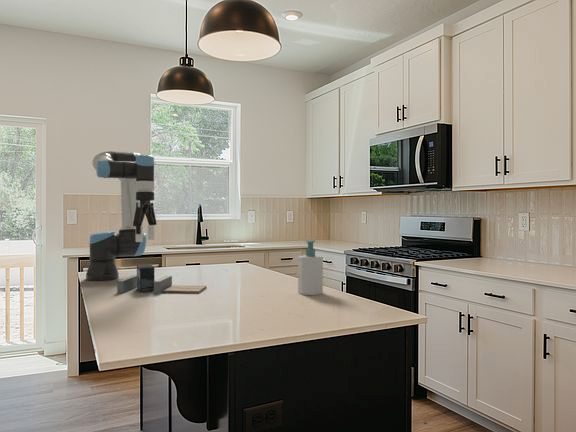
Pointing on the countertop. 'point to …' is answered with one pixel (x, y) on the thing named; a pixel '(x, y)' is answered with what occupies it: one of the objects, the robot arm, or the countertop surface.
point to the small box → (145, 278)
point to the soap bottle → (310, 272)
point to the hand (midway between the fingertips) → (145, 240)
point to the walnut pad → (184, 289)
